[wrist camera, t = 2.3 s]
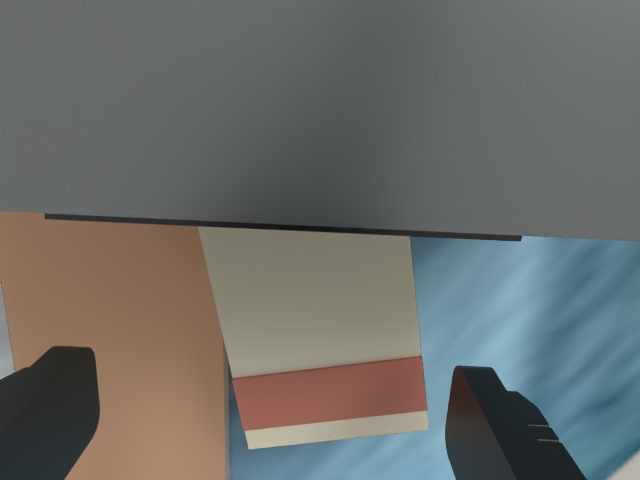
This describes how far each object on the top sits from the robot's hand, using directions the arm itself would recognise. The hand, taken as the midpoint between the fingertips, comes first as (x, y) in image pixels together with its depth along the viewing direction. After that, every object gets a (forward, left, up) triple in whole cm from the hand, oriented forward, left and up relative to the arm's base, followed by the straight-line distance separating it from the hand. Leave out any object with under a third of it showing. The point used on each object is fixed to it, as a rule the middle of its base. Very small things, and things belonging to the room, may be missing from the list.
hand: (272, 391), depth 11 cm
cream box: (-3, +1, -6) cm, 7 cm away
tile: (+4, -6, -6) cm, 9 cm away
